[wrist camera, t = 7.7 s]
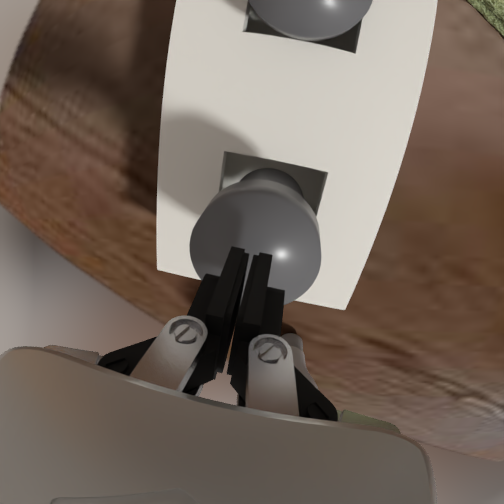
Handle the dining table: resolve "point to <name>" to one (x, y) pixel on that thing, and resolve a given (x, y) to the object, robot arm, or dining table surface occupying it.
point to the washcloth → (491, 12)
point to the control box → (289, 123)
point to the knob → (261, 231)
